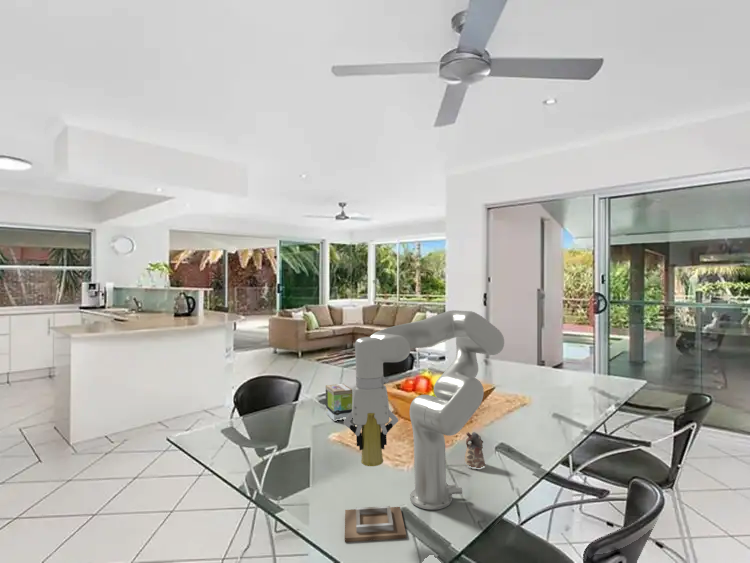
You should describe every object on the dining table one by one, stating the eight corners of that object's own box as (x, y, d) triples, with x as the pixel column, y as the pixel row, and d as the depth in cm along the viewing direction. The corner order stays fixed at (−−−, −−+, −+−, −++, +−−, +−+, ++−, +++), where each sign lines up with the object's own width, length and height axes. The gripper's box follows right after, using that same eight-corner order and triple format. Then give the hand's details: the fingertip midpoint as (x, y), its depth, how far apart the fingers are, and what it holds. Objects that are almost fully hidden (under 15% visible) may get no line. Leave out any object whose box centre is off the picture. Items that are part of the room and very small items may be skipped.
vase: (371, 455, 126) (369, 405, 125) (387, 460, 122) (386, 409, 122) (356, 463, 121) (355, 411, 121) (373, 468, 117) (372, 415, 117)
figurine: (485, 470, 153) (484, 436, 153) (464, 469, 154) (463, 435, 154) (484, 462, 160) (483, 429, 160) (464, 461, 161) (463, 428, 161)
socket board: (400, 510, 129) (399, 501, 129) (406, 538, 115) (405, 528, 115) (345, 513, 128) (345, 504, 128) (344, 542, 114) (344, 532, 114)
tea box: (353, 419, 213) (352, 389, 213) (333, 422, 209) (332, 391, 209) (344, 411, 227) (343, 382, 227) (325, 413, 223) (324, 384, 223)
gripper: (399, 378, 125) (401, 441, 125) (339, 380, 124) (341, 444, 125) (402, 384, 118) (404, 452, 118) (338, 387, 117) (340, 455, 117)
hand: (371, 447), depth 121 cm, fingers closed on vase, 5 cm apart
